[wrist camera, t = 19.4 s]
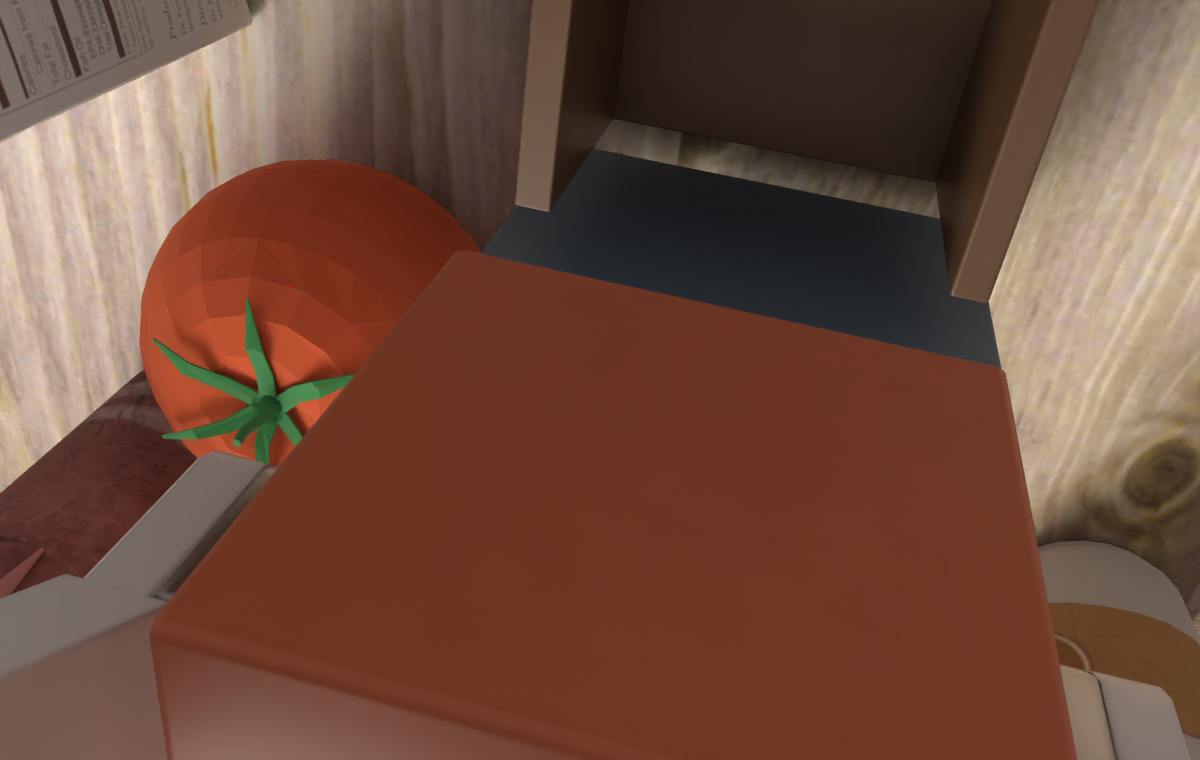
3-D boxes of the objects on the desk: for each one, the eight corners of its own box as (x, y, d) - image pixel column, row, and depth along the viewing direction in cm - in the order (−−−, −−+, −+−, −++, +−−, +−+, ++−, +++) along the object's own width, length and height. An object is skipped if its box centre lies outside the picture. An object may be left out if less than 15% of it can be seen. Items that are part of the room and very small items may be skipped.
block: (435, 628, 11) (210, 1078, 7) (456, 243, 9) (138, 625, 5) (860, 741, 10) (846, 1286, 7) (1009, 364, 8) (1110, 890, 4)
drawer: (911, 408, 32) (919, 583, 25) (543, 325, 33) (461, 472, 27) (1163, -322, 22) (1284, -343, 15) (623, -398, 23) (523, -446, 17)
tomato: (596, 364, 34) (506, 567, 26) (342, 432, 38) (192, 627, 30) (457, 64, 30) (296, 191, 22) (187, 174, 34) (-37, 318, 26)
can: (298, 386, 38) (37, 682, 26) (274, 513, 41) (34, 823, 29) (139, 322, 38) (-191, 588, 26) (129, 454, 41) (-167, 740, 30)
